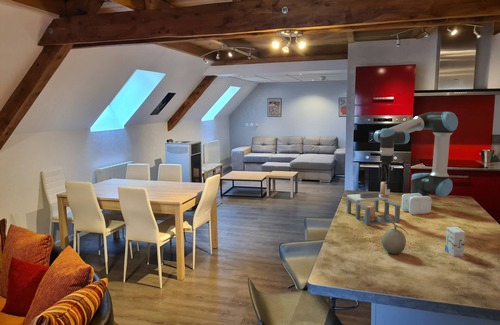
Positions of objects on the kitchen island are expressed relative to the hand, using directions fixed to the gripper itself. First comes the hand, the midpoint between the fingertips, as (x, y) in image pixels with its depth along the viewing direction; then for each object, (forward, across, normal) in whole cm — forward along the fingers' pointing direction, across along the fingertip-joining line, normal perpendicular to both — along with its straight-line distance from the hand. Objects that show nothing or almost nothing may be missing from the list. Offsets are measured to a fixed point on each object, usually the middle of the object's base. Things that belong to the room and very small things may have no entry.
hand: (385, 193), depth 232 cm
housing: (+17, -7, -4) cm, 19 cm away
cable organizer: (+17, -13, +30) cm, 37 cm away
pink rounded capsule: (+2, 0, 0) cm, 2 cm away
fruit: (+18, +48, -22) cm, 56 cm away
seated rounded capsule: (+17, 0, -8) cm, 19 cm away
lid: (+6, -14, -4) cm, 16 cm away
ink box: (+17, +55, +5) cm, 58 cm away
